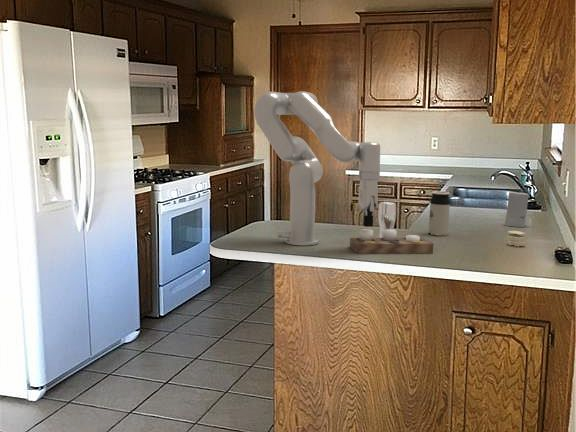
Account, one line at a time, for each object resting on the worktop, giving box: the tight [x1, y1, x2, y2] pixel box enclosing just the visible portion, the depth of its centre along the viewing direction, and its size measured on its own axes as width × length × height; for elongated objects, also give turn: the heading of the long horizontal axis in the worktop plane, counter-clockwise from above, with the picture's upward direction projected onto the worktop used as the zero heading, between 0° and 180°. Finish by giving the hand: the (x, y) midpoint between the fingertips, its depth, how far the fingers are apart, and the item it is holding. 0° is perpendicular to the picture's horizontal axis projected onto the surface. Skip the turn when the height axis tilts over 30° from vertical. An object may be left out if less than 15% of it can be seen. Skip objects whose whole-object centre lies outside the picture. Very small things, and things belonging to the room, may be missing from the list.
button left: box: [358, 228, 374, 241], centre depth 234 cm, size 5×5×4 cm
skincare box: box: [504, 191, 530, 228], centre depth 297 cm, size 8×7×16 cm
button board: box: [349, 237, 434, 255], centre depth 234 cm, size 28×12×4 cm, turn 98°
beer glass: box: [377, 201, 397, 238], centre depth 252 cm, size 7×7×15 cm
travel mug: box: [428, 190, 451, 236], centre depth 269 cm, size 8×8×18 cm
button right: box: [405, 234, 421, 241], centre depth 237 cm, size 5×5×4 cm
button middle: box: [383, 228, 398, 241], centre depth 235 cm, size 5×5×4 cm
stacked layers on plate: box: [506, 230, 527, 247], centre depth 250 cm, size 10×9×6 cm
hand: (368, 226), depth 233 cm, fingers closed
